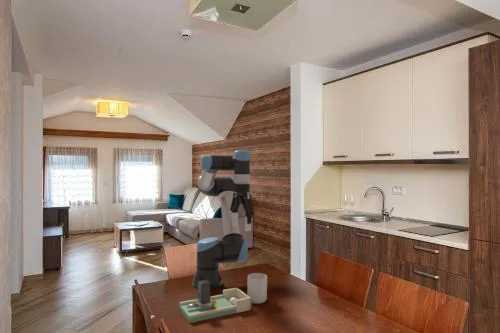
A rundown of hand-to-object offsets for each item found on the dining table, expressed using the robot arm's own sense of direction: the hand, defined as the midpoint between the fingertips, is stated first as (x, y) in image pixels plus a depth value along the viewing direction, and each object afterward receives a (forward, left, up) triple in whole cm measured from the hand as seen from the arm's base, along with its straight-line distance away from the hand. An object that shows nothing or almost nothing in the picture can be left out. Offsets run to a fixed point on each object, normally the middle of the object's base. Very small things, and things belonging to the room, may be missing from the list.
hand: (241, 228), depth 158 cm
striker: (+9, -23, -29) cm, 39 cm away
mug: (+8, +5, -32) cm, 33 cm away
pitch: (+9, -16, -32) cm, 37 cm away
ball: (+9, -8, -30) cm, 32 cm away
